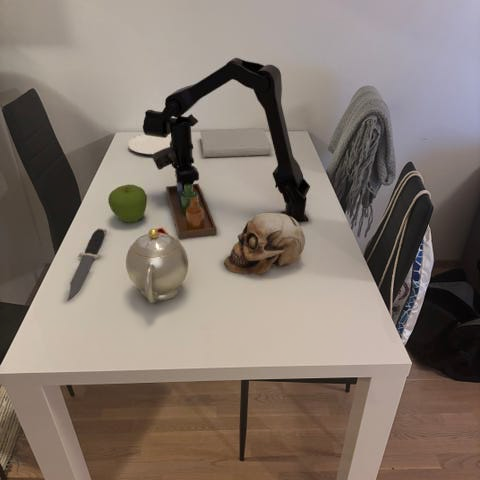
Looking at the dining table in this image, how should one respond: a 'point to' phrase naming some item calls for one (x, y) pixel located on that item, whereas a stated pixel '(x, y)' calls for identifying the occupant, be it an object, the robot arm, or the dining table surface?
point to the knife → (86, 261)
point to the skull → (266, 244)
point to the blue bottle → (179, 189)
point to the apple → (128, 203)
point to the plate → (149, 144)
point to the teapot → (157, 265)
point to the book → (234, 142)
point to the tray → (181, 219)
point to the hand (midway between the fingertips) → (185, 191)
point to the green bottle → (187, 196)
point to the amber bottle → (195, 215)
